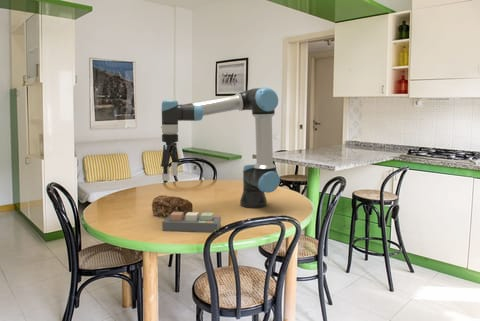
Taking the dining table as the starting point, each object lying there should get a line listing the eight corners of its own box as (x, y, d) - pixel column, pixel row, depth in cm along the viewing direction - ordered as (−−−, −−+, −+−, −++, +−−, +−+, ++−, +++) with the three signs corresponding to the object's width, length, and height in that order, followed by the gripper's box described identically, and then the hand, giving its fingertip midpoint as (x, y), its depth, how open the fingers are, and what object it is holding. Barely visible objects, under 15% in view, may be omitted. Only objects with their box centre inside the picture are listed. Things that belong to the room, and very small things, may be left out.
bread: (151, 216, 206) (150, 197, 204) (164, 211, 215) (164, 192, 214) (181, 221, 197) (180, 201, 196) (193, 215, 206) (193, 196, 205)
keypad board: (220, 225, 190) (220, 216, 190) (217, 232, 180) (217, 223, 179) (168, 223, 193) (168, 214, 192) (162, 230, 182) (162, 221, 181)
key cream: (198, 219, 188) (198, 212, 187) (196, 222, 183) (196, 215, 182) (187, 219, 188) (187, 212, 188) (185, 222, 183) (185, 215, 183)
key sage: (213, 220, 187) (213, 212, 187) (211, 223, 182) (211, 215, 182) (202, 219, 188) (202, 212, 187) (200, 222, 183) (200, 215, 182)
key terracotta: (183, 219, 188) (183, 212, 188) (181, 222, 184) (181, 214, 183) (173, 219, 189) (173, 211, 188) (170, 222, 184) (170, 214, 183)
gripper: (170, 131, 202) (170, 173, 205) (153, 135, 178) (154, 182, 181) (184, 131, 202) (184, 173, 205) (170, 135, 177) (170, 183, 180)
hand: (170, 178), depth 193 cm, fingers open, 13 cm apart
